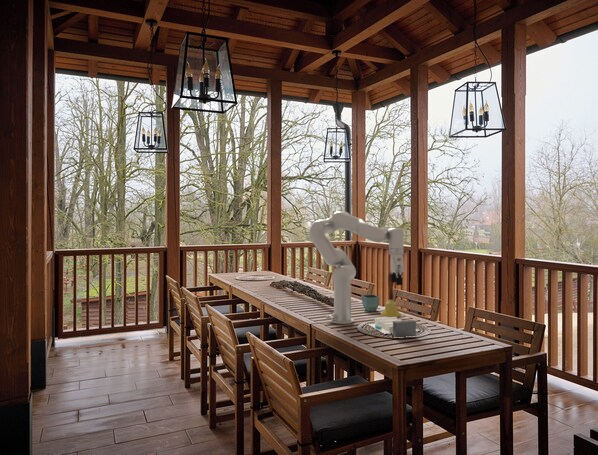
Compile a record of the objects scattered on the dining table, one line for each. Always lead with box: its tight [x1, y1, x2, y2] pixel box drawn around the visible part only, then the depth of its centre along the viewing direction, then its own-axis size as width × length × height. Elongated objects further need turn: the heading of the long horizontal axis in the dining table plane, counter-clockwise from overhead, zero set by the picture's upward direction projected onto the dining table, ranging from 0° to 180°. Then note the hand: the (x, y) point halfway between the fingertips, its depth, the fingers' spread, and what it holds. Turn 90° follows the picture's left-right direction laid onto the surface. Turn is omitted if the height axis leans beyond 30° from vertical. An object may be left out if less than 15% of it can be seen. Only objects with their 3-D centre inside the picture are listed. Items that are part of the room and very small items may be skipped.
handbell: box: [380, 272, 402, 318], centre depth 279 cm, size 12×12×25 cm
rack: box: [367, 317, 420, 334], centre depth 247 cm, size 20×20×4 cm
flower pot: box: [361, 294, 381, 312], centre depth 291 cm, size 9×9×9 cm
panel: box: [392, 319, 417, 337], centre depth 231 cm, size 11×3×8 cm, turn 106°
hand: (396, 283), depth 248 cm, fingers open, 9 cm apart
